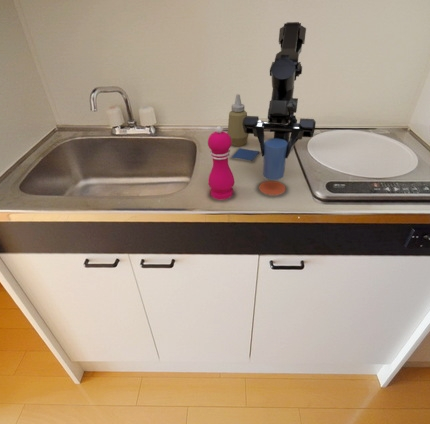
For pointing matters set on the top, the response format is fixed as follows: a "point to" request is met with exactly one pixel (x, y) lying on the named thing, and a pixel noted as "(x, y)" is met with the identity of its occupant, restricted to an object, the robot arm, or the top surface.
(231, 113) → the squeeze bottle
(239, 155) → the blue mat
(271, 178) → the blue tin
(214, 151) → the pepper mill
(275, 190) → the terracotta mat
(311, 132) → the robot arm
